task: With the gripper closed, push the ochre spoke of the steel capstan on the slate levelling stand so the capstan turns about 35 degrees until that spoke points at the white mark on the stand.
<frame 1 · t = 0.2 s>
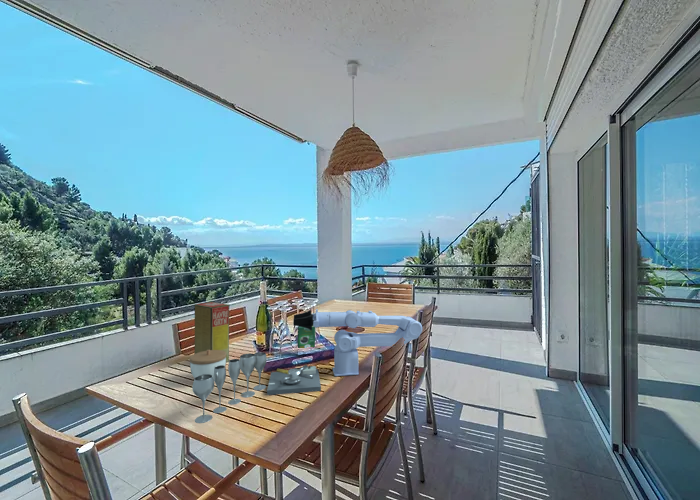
hand: (293, 319, 121), 21 cm above the table, tool horizontal, fingers open, 7 cm apart
goblet set: (233, 402, 100), on the table
coffee box: (306, 354, 145), on the table
lidded bowl: (208, 379, 118), on the table
food packaging: (211, 361, 137), on the table
capstan: (294, 376, 111), point 4 cm above the table, hinge at -35.0°
levelling stand: (294, 383, 114), on the table
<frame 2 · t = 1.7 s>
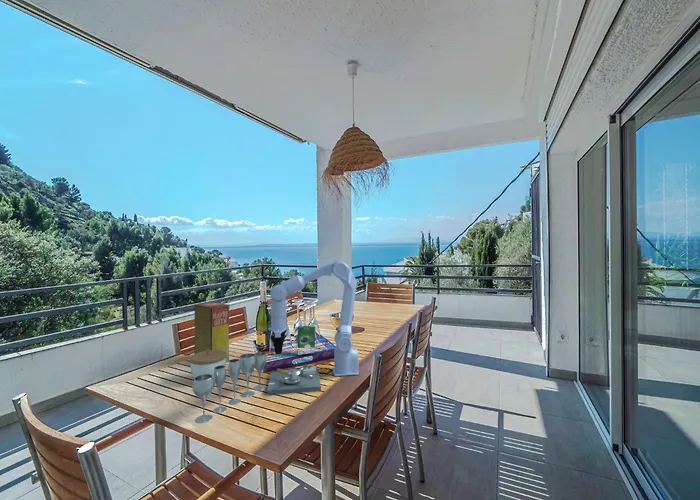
hand: (279, 351, 121), 9 cm above the table, tool pointing down, fingers open, 6 cm apart
nothing on the table moved.
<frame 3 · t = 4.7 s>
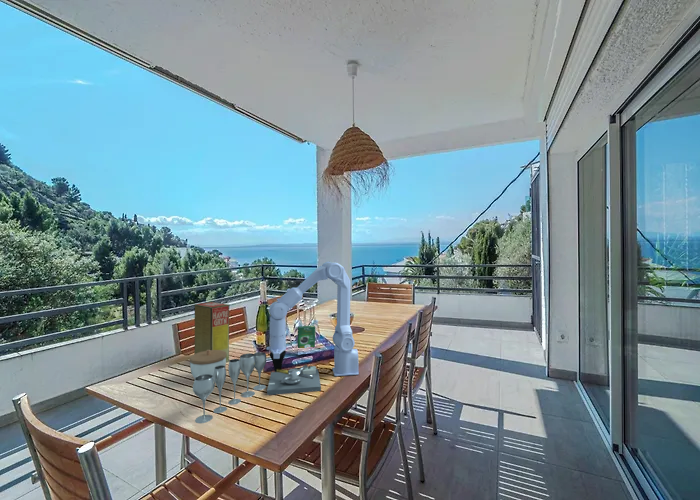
hand: (277, 371, 115), 4 cm above the table, tool pointing down, fingers closed, pressing on capstan
capstan: (294, 376, 111), point 4 cm above the table, hinge at -34.6°, touching gripper
everything else where it was.
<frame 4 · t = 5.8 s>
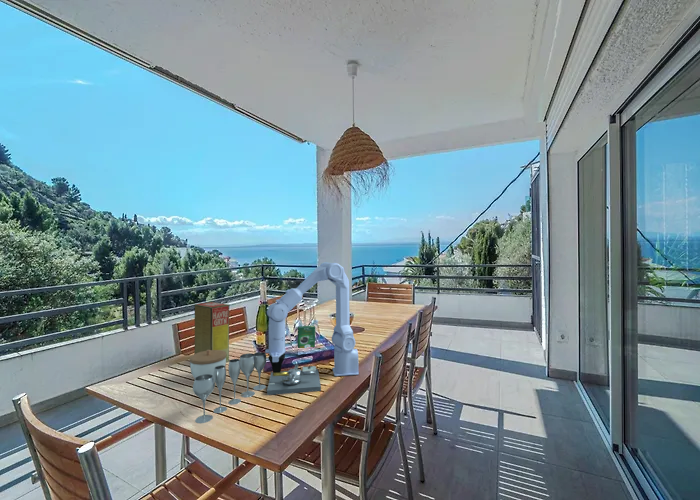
hand: (276, 375, 112), 4 cm above the table, tool pointing down, fingers closed, pressing on capstan
capstan: (294, 376, 111), point 4 cm above the table, hinge at -5.6°, touching gripper
everything else where it was.
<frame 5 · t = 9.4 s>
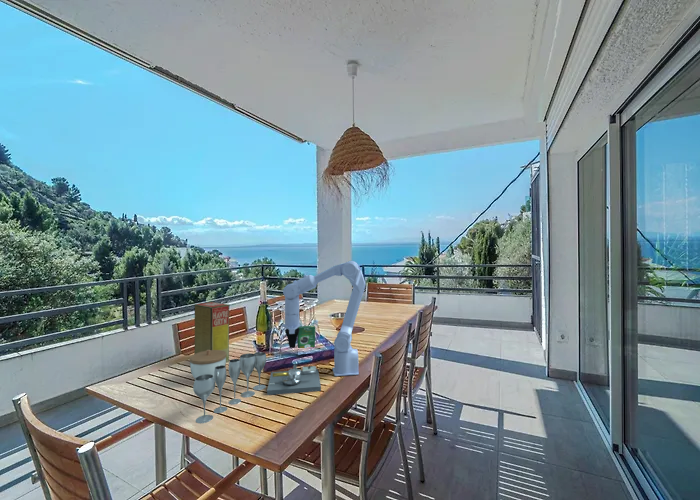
hand: (292, 347, 126), 9 cm above the table, tool pointing down, fingers closed
capstan: (294, 376, 111), point 4 cm above the table, hinge at -0.9°
everything else where it was.
at the end: capstan at -1° (first picture: -35°); goblet set moved 0.3 cm from its start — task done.
